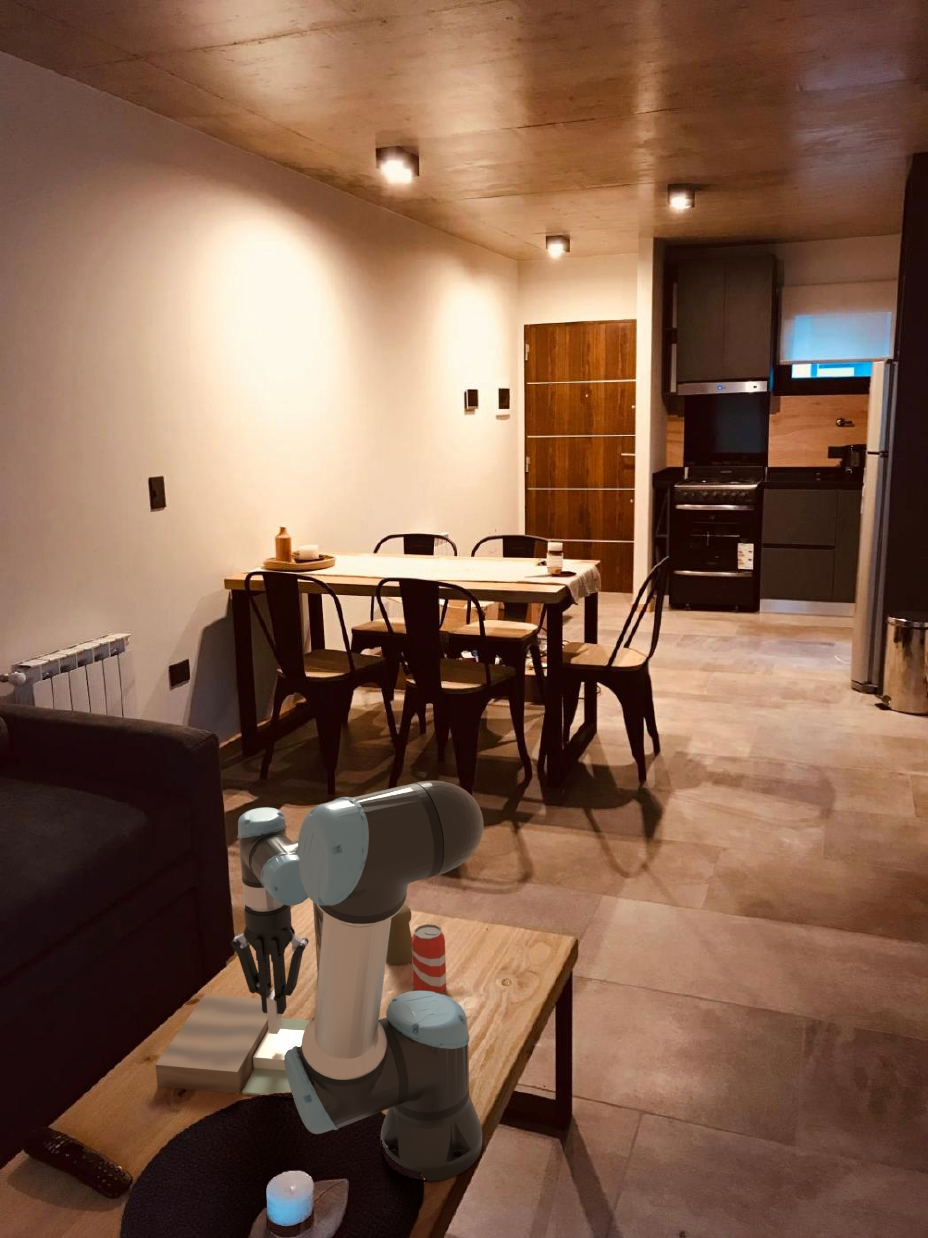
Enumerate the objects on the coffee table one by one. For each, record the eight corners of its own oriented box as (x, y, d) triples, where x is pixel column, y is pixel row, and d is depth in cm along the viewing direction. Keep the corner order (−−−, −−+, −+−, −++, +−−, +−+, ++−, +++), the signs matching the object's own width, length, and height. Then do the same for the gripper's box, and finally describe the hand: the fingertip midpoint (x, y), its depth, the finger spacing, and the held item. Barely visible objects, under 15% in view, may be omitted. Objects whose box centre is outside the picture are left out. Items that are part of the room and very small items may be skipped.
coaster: (299, 1071, 169) (299, 1061, 169) (253, 1067, 170) (252, 1057, 170) (314, 1042, 177) (313, 1031, 176) (269, 1038, 178) (269, 1028, 178)
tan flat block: (239, 1094, 165) (237, 1072, 164) (157, 1086, 167) (155, 1065, 166) (280, 1020, 184) (278, 1000, 183) (206, 1014, 186) (204, 994, 185)
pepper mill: (386, 949, 207) (384, 899, 204) (416, 949, 206) (414, 899, 204) (383, 966, 201) (380, 915, 198) (413, 966, 200) (411, 915, 198)
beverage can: (442, 1000, 189) (441, 941, 186) (409, 996, 190) (407, 938, 188) (449, 981, 195) (448, 924, 192) (417, 978, 196) (415, 921, 194)
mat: (331, 1102, 162) (331, 1100, 162) (242, 1094, 165) (241, 1092, 165) (363, 1026, 182) (363, 1024, 181) (282, 1020, 184) (282, 1018, 184)
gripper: (312, 892, 170) (319, 1018, 175) (237, 888, 172) (247, 1013, 177) (297, 914, 163) (306, 1045, 168) (220, 910, 165) (230, 1039, 170)
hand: (275, 1029), depth 173 cm, fingers closed
